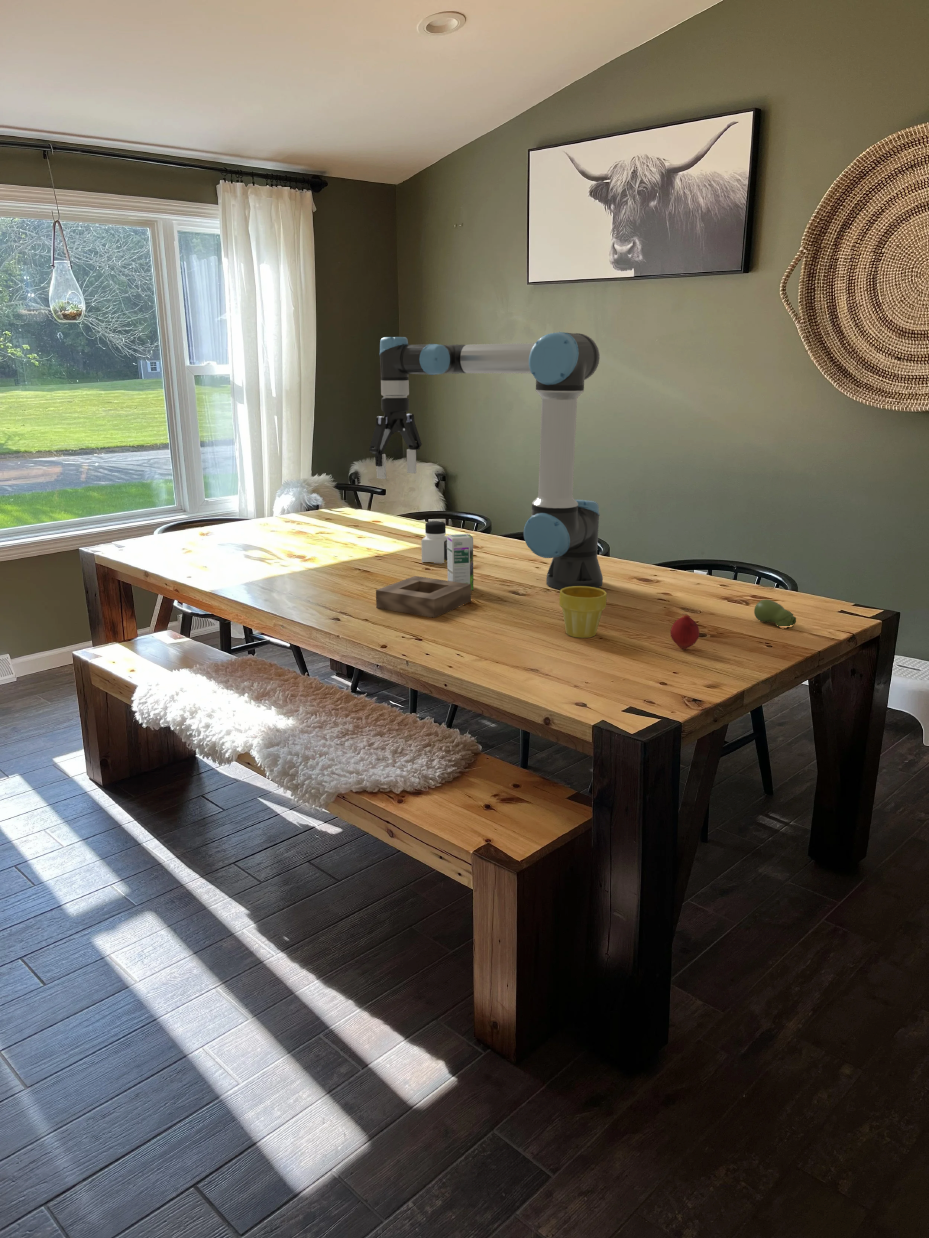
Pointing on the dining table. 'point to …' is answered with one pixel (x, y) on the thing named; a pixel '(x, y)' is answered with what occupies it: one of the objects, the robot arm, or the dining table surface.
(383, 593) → the socket block
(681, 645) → the onion
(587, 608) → the plant pot
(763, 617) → the pear
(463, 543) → the syrup box
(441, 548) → the medicine bottle
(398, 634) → the dining table surface
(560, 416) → the robot arm
